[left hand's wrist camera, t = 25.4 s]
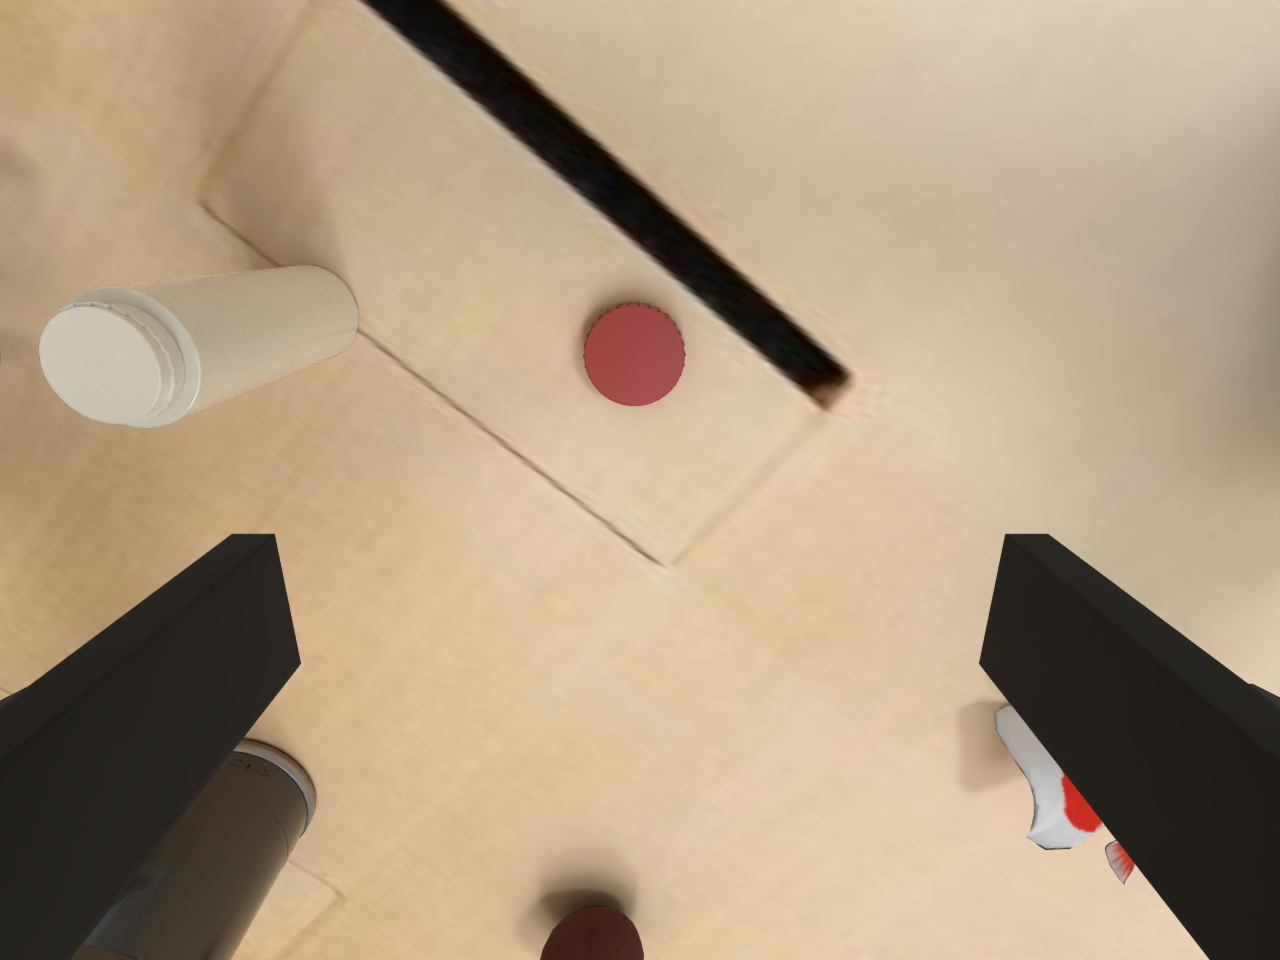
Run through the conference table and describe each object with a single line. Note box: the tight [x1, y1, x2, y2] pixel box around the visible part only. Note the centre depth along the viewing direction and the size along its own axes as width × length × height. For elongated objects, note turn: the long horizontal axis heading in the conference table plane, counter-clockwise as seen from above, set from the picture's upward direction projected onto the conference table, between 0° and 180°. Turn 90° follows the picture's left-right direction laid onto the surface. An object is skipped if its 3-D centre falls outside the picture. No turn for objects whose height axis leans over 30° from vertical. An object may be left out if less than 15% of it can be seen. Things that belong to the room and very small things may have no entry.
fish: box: [994, 705, 1135, 884], centre depth 43 cm, size 11×16×10 cm
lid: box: [583, 302, 686, 406], centre depth 37 cm, size 5×5×2 cm
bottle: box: [39, 265, 359, 428], centre depth 29 cm, size 5×5×16 cm
